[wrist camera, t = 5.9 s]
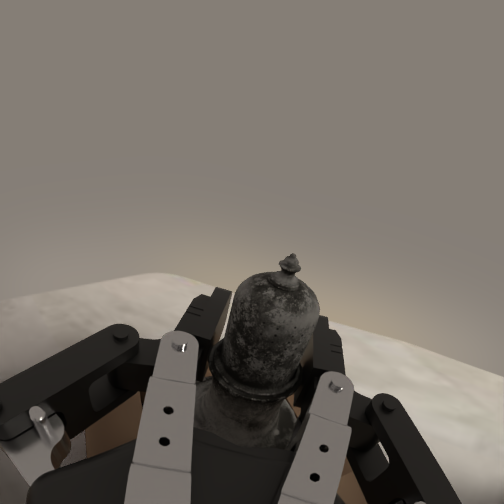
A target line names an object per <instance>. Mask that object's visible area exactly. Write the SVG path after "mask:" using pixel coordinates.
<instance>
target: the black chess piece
mask: <svg viewBox="0 0 504 504" xmlns="http://www.w3.org/2000/svg"><path fill="white" fill-rule="evenodd" d="M298 264H299V262H298V260H297V258H296V255H295V254H291V255H290V256H287V257H286V258H285V259H284V260H283V261H280V262H279V265H280V267H281V269H282V270H281V271H277V272H266V273H259V274H255V275H253V276H251V277H249V278H247V279H246V280H245V281H243V282H242V283H241V284H240V286H239V287H238V289H237V290H236V292H235V295H234V299H233V303H232V308H231V312H230V316H229V320H228V324H227V328H226V333H225V337H224V338H223V339H222V340H220V341H219V342H217V343H216V344H215V345H214V347H213V348H212V351H211V353H210V356H209V358H208V363H209V370H210V372H211V374H212V376H208V377H204V380H203V382H199V381H196V382H195V384H196V394H195V408H194V423H193V427H195V428H198V429H202V430H205V431H208V432H212V433H214V434H216V435H217V436H219V437H221V438H223V439H225V440H227V441H229V442H231V443H233V444H235V445H237V446H240V447H249V448H277V449H283V450H284V449H285V447H286V444H287V442H288V440H289V437H290V435H291V432H292V430H293V427H294V425H295V422H296V420H297V419H296V416H295V414H294V411H293V410H292V408H291V407H290V405H289V404H288V402H287V401H286V400H285V399H286V398H288V397H289V396H291V395H293V394H294V393H295V392H296V391H297V389H298V388H299V387H300V385H301V382H302V366H301V363H300V361H301V359H302V356H303V354H304V352H305V350H306V347H307V345H308V343H309V341H310V338H311V336H312V334H313V331H314V329H315V327H316V324H317V322H318V318H319V312H320V307H319V303H318V300H317V297H316V295H315V294H314V292H313V291H312V290H311V289H310V288H309V287H308V286H307V285H306V284H305V283H304V282H303V281H301V280H300V279H298V278H297V277H296V276H295V273H296V272H299V271H300V270H301V267H300V266H299V265H298Z"/></svg>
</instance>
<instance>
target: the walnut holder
mask: <svg viewBox="0 0 504 504" xmlns="http://www.w3.org/2000/svg"><path fill="white" fill-rule="evenodd" d="M208 376H212V374H211V372H210V370H209V367H208V369H207V372H206V374H205V377H208ZM145 396H146V392H140V391H138V392H137V393H136V394H135V395H133V396H132V397H130V398H129V399H128V400H126V401H125V402H124V403H122V404H121V405H119V406H118V407H117V408H115V409H114V410H112V411H111V412H109V413H108V414H107V415H105V416H104V417H102V418H101V419H100V420H98V421H97V422H95V423H94V424H92V425H91V426H89V427H88V428H87V429H85V437H86V453H87V458H89V457H92V456H95V455H97V454H100V453H103V452H105V451H108V450H110V449H113V448H115V447H118V446H120V445H122V444H125V443H127V442H129V441H132V440H134V439H136V438H137V435H138V430H139V425H140V420H141V415H142V404H141V403H144V401H145ZM285 400H286V401H287V402H288V404H289V405H290V407H291V408H292V410H293V411H294V414H295V416H296V419H297V418H298V416H299V415H300V412H301V408H299V407H294V406H293V402H294V394H293V395H291V396H289V397H288V398H286V399H285ZM337 494H338V495H339V496H340V497H341V499H342V500H343V501H344V503H345V504H367V502H366V499H365V497H364V495H363V493H362V491H361V488H360V486H359V484H358V482H357V479H356V477H355V475H354V473H353V471H352V468H351V466H350V464H349V462H348V460H347V457H346V458H345V463H344V467H343V471H342V475H341V478H340V482H339V486H338V490H337Z"/></svg>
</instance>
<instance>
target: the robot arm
mask: <svg viewBox="0 0 504 504" xmlns="http://www.w3.org/2000/svg"><path fill="white" fill-rule="evenodd" d="M231 296H232V291H228V290H225V289H222V288H218V287H216V288H215V290H214V292H213V294H212V295H211V297H210V296H206V295H203V294H201V295H199V296H198V297H196V298H194V299H193V301H192V302H191V304H190V305H189V307H188V309H187V310H186V312H185V314H184V315H183V317H182V318H181V320H180V322H179V323H178V325H177V327H176V328H175V330H174V331H171V332H168V333H166V334H165V335H163V337H162V338H161V339H158V340H152V339H143V338H139V334H138V332H137V330H136V329H134V328H133V327H131V326H129V325H125V324H114V325H111V326H109V327H107V328H105V329H103V330H101V331H99V332H97V333H95V334H93V335H91V336H90V337H88V338H86V339H84V340H82V341H80V342H78V343H76V344H74V345H72V346H70V347H69V348H67V349H65V350H63V351H61V352H59V353H57V354H55V355H53V356H51V357H50V358H48V359H46V360H44V361H42V362H40V363H38V364H36V365H34V366H32V367H30V368H29V369H27V370H25V371H23V372H21V373H19V374H17V375H15V376H13V377H11V378H10V379H8V380H6V381H4V382H2V383H0V448H1V450H2V451H3V452H4V453H6V455H7V456H8V457H9V458H10V460H11V461H12V462H13V464H14V465H15V467H16V468H17V470H18V471H19V472H20V474H21V475H22V476H23V478H24V479H25V481H26V482H27V483H28V484H29V486H30V488H29V491H28V494H27V500H26V504H345V503H344V501H343V500H342V499H341V497H340V496H339V495H338V494H337V490H338V486H339V482H340V478H341V475H342V471H343V467H344V463H345V458H346V457H347V460H348V462H349V464H350V466H351V468H352V471H353V473H354V475H355V477H356V479H357V482H358V484H359V486H360V488H361V491H362V493H363V495H364V497H365V499H366V502H367V504H462V503H461V502H460V500H459V498H458V496H457V495H456V493H455V491H454V489H453V488H452V486H451V484H450V482H449V481H448V479H447V477H446V476H445V474H444V472H443V471H442V469H441V467H440V466H439V464H438V462H437V461H436V459H435V457H434V456H433V454H432V452H431V451H430V449H429V447H428V446H427V444H426V443H425V441H424V439H423V438H422V436H421V434H420V433H419V431H418V430H417V428H416V426H415V425H414V423H413V422H412V420H411V418H410V417H409V415H408V414H407V412H406V411H405V409H404V407H403V406H402V404H401V403H400V402H399V400H398V399H396V398H395V397H393V396H392V395H389V394H385V393H381V394H377V395H376V396H374V398H373V399H370V398H368V397H365V396H363V395H361V394H359V393H357V392H355V391H354V386H353V383H352V381H351V380H350V379H349V378H348V377H347V376H346V375H345V366H344V358H343V350H342V342H341V338H340V336H339V335H338V333H337V332H336V330H332V329H329V324H328V317H325V316H320V315H319V318H318V322H317V324H316V327H315V329H314V331H313V334H312V336H311V338H310V341H309V343H308V345H307V347H306V350H305V352H304V354H303V356H302V359H301V361H300V363H301V366H302V382H301V385H300V387H299V388H298V389H297V391H296V392H295V393H294V402H293V406H294V407H299V408H301V412H300V415H299V416H298V418H297V420H296V422H295V425H294V427H293V430H292V432H291V435H290V437H289V440H288V442H287V444H286V447H285V449H284V450H283V449H277V448H249V447H240V446H237V445H235V444H233V443H231V442H229V441H227V440H225V439H223V438H221V437H219V436H217V435H216V434H214V433H212V432H208V431H205V430H202V429H198V428H195V427H193V423H194V408H195V394H196V384H195V382H196V381H199V382H203V380H204V377H205V374H206V372H207V369H208V367H209V363H208V358H209V356H210V353H211V351H212V348H213V347H214V345H215V344H216V343H217V342H219V339H220V337H221V334H222V331H223V328H224V325H225V321H226V317H227V313H228V309H229V304H230V300H231ZM138 391H140V392H146V396H145V401H144V405H143V410H142V415H141V420H140V425H139V430H138V435H137V438H136V439H134V440H132V441H129V442H127V443H125V444H122V445H120V446H118V447H115V448H113V449H110V450H108V451H105V452H103V453H100V454H97V455H95V456H92V457H89V458H87V459H84V460H81V461H78V462H75V463H73V464H70V465H67V466H64V467H61V468H60V464H61V462H62V460H63V459H64V458H65V457H66V456H67V455H68V454H69V452H70V450H71V441H70V439H72V438H73V437H75V436H76V435H78V434H79V433H81V432H82V431H84V430H85V429H87V428H88V427H89V426H91V425H92V424H94V423H95V422H97V421H98V420H100V419H101V418H102V417H104V416H105V415H107V414H108V413H109V412H111V411H112V410H114V409H115V408H117V407H118V406H119V405H121V404H122V403H124V402H125V401H126V400H128V399H129V398H130V397H132V396H133V395H135V394H136V393H137V392H138ZM379 442H381V444H382V446H383V448H384V449H385V451H386V453H387V455H388V457H389V463H388V461H387V459H386V457H385V455H384V454H383V452H382V450H381V448H380V446H379V444H378V443H379Z"/></svg>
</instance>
